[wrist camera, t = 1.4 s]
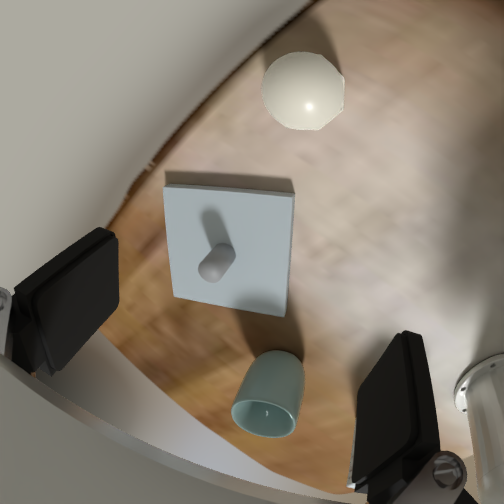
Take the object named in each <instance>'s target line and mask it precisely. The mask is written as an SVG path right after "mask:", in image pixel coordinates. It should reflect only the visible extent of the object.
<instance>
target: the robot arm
mask: <svg viewBox="0 0 504 504" xmlns="http://www.w3.org/2000/svg"><path fill="white" fill-rule="evenodd" d="M14 290H15V294H14V295H13V296H11V294H10V292H9V291H8V290H7V289H4V288H2V287H0V504H349V503H342V502H336V501H331V500H325V499H320V498H315V497H310V496H305V495H300V494H295V493H291V492H287V491H282V490H278V489H274V488H270V487H267V486H263V485H259V484H255V483H252V482H249V481H245V480H242V479H239V478H236V477H233V476H229V475H226V474H223V473H220V472H218V471H215V470H212V469H209V468H206V467H203V466H200V465H198V464H195V463H193V462H190V461H188V460H185V459H183V458H180V457H177V456H175V455H173V454H171V453H168V452H166V451H163V450H161V449H159V448H157V447H154V446H152V445H150V444H148V443H146V442H144V441H142V440H140V439H138V438H135V437H133V436H131V435H129V434H127V433H125V432H123V431H122V430H119V429H118V428H116V427H114V426H112V425H110V424H108V423H106V422H105V421H103V420H101V419H99V418H97V417H95V416H94V415H92V414H90V413H89V412H87V411H85V410H84V409H82V408H80V407H78V406H77V405H75V404H74V403H72V402H70V401H69V400H67V399H66V398H64V397H62V396H61V395H59V394H58V393H56V392H55V391H53V390H52V389H50V388H49V387H47V386H46V385H44V384H43V383H42V382H40V381H38V380H37V379H36V378H35V371H36V370H37V369H38V368H39V367H40V369H41V370H42V371H44V372H46V373H47V374H48V375H50V376H52V375H53V374H54V373H55V372H56V371H60V370H62V369H63V368H64V367H65V365H66V364H67V363H68V362H69V361H70V360H71V359H72V357H73V356H74V355H75V354H76V353H77V352H78V351H79V349H80V348H81V347H82V346H83V345H84V344H85V343H86V342H87V341H88V339H89V338H90V337H91V336H92V335H93V334H94V333H95V332H96V331H97V329H98V328H99V327H100V326H101V325H102V324H103V323H104V322H105V321H106V320H107V319H108V317H109V316H110V315H111V314H112V313H113V312H114V311H115V310H116V309H117V307H118V304H119V270H118V239H117V238H116V237H115V233H114V232H112V231H109V230H107V229H104V228H101V227H98V228H96V229H94V230H93V231H91V232H90V233H88V234H87V235H85V236H84V237H82V238H81V239H80V240H78V241H77V242H75V243H74V244H72V245H71V246H69V247H68V248H67V249H65V250H64V251H62V252H61V253H59V254H58V255H57V256H55V257H54V258H53V259H51V260H50V261H49V262H47V263H46V264H44V265H43V266H42V267H40V268H39V269H38V270H36V271H35V272H34V273H32V274H31V275H30V276H28V277H27V278H26V279H24V280H23V281H22V282H21V283H19V284H18V285H17V286H15V287H14ZM454 402H455V406H456V408H457V409H458V411H460V412H461V413H463V414H466V415H467V416H468V421H469V427H470V433H471V439H472V445H473V452H474V460H475V468H476V478H477V488H478V496H479V500H480V501H481V504H504V354H500V355H496V356H493V357H491V358H488V359H486V360H484V361H483V362H481V363H479V364H478V365H476V366H475V367H473V368H472V369H471V370H470V371H469V372H468V373H466V374H465V376H464V377H463V378H462V379H461V380H460V382H459V383H458V385H457V387H456V389H455V392H454ZM466 481H467V471H466V467H465V465H464V462H463V461H462V460H461V458H460V457H459V456H457V455H456V454H455V453H453V452H450V451H441V450H440V439H439V430H438V422H437V415H436V408H435V401H434V395H433V389H432V383H431V378H430V372H429V367H428V362H427V357H426V352H425V348H424V343H423V339H422V336H421V335H420V334H416V333H413V332H410V331H406V330H405V331H403V332H402V333H401V334H400V333H397V334H396V335H395V337H394V338H393V340H392V341H391V343H390V344H389V346H388V347H387V349H386V350H385V352H384V353H383V355H382V356H381V358H380V359H379V361H378V362H377V364H376V365H375V366H374V368H373V369H372V371H371V372H370V373H369V375H368V376H367V378H366V379H365V380H364V382H363V383H362V384H361V386H360V388H359V391H358V396H357V417H356V433H355V446H354V458H353V469H352V483H355V491H354V492H357V493H365V494H367V501H368V502H367V503H366V504H478V503H477V502H476V501H475V500H474V498H473V497H472V496H471V495H470V494H469V493H468V492H467V491H466V490H465V489H464V486H465V484H466Z"/></svg>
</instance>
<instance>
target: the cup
mask: <svg viewBox="0 0 504 504" xmlns="http://www.w3.org/2000/svg"><path fill="white" fill-rule="evenodd" d="M304 389H305V371H304V368H303V365H302V363H301V362H300V360H299V359H298V358H297V357H296V356H294V355H293V354H291V353H289V352H286V351H280V350H273V351H267V352H265V353H263V354H261V355H259V356H258V357H257V358H256V359H255V360H254V361H253V363H252V364H251V366H250V367H249V369H248V371H247V373H246V375H245V376H244V378H243V381H242V383H241V385H240V387H239V389H238V392H237V394H236V396H235V399H234V401H233V404H232V408H231V414H232V417H233V419H234V421H235V423H236V424H237V425H238V426H239V427H241V428H242V429H243V430H245V431H247V432H249V433H252V434H255V435H258V436H262V437H269V438H279V437H284V436H287V435H289V434H291V433H292V432H293V431H294V429H295V427H296V425H297V422H298V418H299V414H300V410H301V405H302V401H303V395H304Z"/></svg>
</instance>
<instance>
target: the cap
mask: <svg viewBox="0 0 504 504" xmlns="http://www.w3.org/2000/svg"><path fill="white" fill-rule="evenodd" d="M344 90H345V79H344V77H343V76H342V75H341V74H340V73H339V72H338V71H337V69H336V68H335V67H334V66H333V65H332V64H331V63H330V62H329V61H328V60H326V59H325V58H324V57H323V56H322V55H321V54H314V53H310V52H293V53H288V54H286V55H284V56H282V57H280V58H278V59H277V60H276V61H274V62H273V63H272V64H271V65H270V67H269V68H268V69H267V71H266V73H265V75H264V78H263V81H262V98H263V101H264V105H265V106H266V108H267V110H268V112H269V113H270V114H271V115H272V117H274V118H275V119H276V120H277V121H278V122H280V123H281V124H283V125H284V126H285V127H286V128H293V129H298V130H320V129H321V128H323V127H324V126H325V125H326V124H327V123H329V122H330V121H331V120H332V119H333V118H335V117H336V116H337V115H338V114H339V113H341V112H342V111H343V110H344Z"/></svg>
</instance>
